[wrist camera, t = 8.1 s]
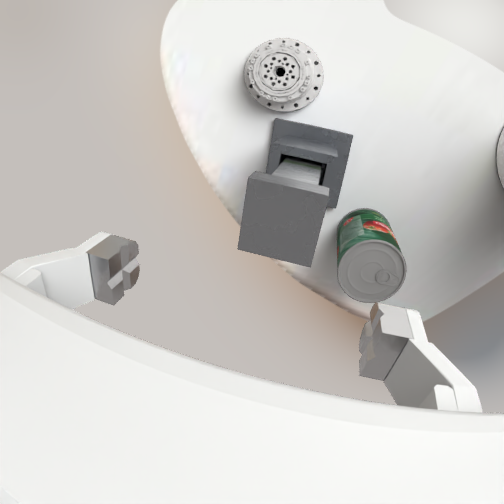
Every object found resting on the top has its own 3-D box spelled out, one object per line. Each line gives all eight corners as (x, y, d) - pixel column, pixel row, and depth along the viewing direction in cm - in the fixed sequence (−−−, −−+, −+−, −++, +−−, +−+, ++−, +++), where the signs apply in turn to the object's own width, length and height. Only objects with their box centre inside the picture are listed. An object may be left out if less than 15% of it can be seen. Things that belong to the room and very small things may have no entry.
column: (329, 155, 33) (328, 195, 18) (320, 196, 36) (310, 267, 21) (285, 145, 34) (248, 177, 19) (278, 186, 36) (237, 249, 21)
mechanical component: (304, 124, 38) (336, 58, 33) (301, 125, 34) (336, 52, 29) (235, 94, 38) (264, 30, 33) (225, 93, 35) (256, 22, 30)
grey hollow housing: (352, 134, 37) (361, 145, 27) (335, 206, 42) (336, 241, 31) (276, 118, 38) (255, 122, 28) (264, 189, 43) (240, 218, 33)
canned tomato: (328, 249, 45) (326, 290, 35) (348, 199, 41) (353, 229, 31) (377, 267, 44) (386, 311, 34) (400, 220, 40) (418, 255, 31)
